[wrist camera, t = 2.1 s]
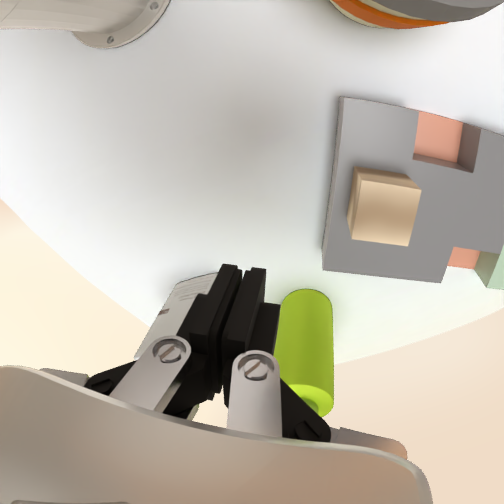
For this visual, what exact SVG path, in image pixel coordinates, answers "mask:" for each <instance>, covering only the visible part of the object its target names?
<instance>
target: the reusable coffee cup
mask: <svg viewBox="0 0 504 504" xmlns="http://www.w3.org/2000/svg"><path fill="white" fill-rule="evenodd" d="M329 1H330V2H331V3H332V4H333V5H334V6H335V8H336V9H338V10H339V11H340V12H341V13H342V14H343V15H345V16H347V17H348V18H350V19H351V20H353V21H356V22H358V23H360V24H363V25H366V26H370V27H377V28H394V29H412V28H419V27H427V26H434V25H440V24H446V23H449V22H457V21H464V20H470V19H473V18H475V17H478V16H480V15H483V14H485V13H486V12H488V11H490V10H491V9H493V8H495V7H496V6H498V5H500V4H501V3H503V2H504V0H329Z"/></svg>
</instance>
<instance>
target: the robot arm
mask: <svg viewBox="0 0 504 504" xmlns="http://www.w3.org/2000/svg"><path fill="white" fill-rule="evenodd" d="M169 1H170V0H0V29H51V30H67V31H72V33H73V34H74V35H75V37H76V38H77V39H78V40H79V41H80V42H82V43H83V44H85V45H87V46H90V47H95V48H114V47H119V46H122V45H125V44H128V43H129V42H131V41H133V40H135V39H137V38H138V37H140V36H141V35H142V34H144V33H145V32H146V31H148V30H149V29H150V28H151V27H152V26H153V25H154V24H155V23H156V21H157V20H158V19H159V18H160V16H161V15H162V14H163V12H164V11H165V9H166V7H167V5H168V4H169ZM157 6H158V8H157ZM156 8H157V9H156ZM265 281H266V269H262V268H254V267H252V268H251V271H248V270H246V271H245V274H244V277H243V279H242V270H240V269H238V267H237V265H230V264H222V266H221V268H220V270H219V272H218V274H217V276H216V278H215V280H214V282H213V284H212V286H211V288H210V290H209V292H208V294H202V293H199V294H197V296H196V298H195V299H194V301H193V303H192V305H191V307H190V309H189V311H188V313H187V315H186V316H185V318H184V320H183V322H182V324H181V326H180V328H179V330H178V332H177V334H176V336H174V335H170V336H163V337H160V338H158V339H156V340H154V341H153V342H152V343H151V344H150V345H149V347H148V348H147V349H146V350H145V352H144V353H143V354H142V355H141V356H140V358H139V359H138V360H136V361H133V362H130V363H127V364H125V365H121V366H119V367H116V368H113V369H110V370H107V371H104V372H101V373H98V374H96V375H94V376H92V377H91V378H90V377H88V375H87V374H81V373H74V372H67V371H61V370H55V369H48V368H43V369H40V370H37V369H33V368H29V367H23V366H12V365H7V366H0V504H433V501H432V495H431V491H430V487H429V484H428V481H427V478H426V477H425V475H424V473H423V472H422V470H421V469H419V467H418V466H416V465H415V464H413V463H412V462H410V461H408V460H407V451H406V449H405V447H404V446H403V445H402V444H401V443H400V442H398V441H396V440H393V439H389V438H384V437H379V436H375V435H371V434H366V433H362V432H358V431H354V430H350V429H346V428H342V427H340V429H339V430H338V429H335V428H331V427H329V425H328V424H327V423H326V422H325V421H324V420H323V419H322V418H321V417H320V416H319V415H318V414H317V413H316V412H315V411H314V410H313V409H312V408H311V407H310V406H309V405H308V404H307V403H306V402H304V401H303V400H302V399H301V398H300V397H299V396H298V395H297V394H296V393H295V392H294V391H293V390H292V389H291V388H290V387H289V386H288V385H287V384H286V383H285V382H284V381H283V380H282V379H281V378H280V367H279V363H278V361H277V360H276V358H275V357H273V355H274V350H275V344H276V338H277V332H278V325H279V317H280V308H281V305H280V304H272V303H264V295H265ZM222 385H223V391H224V404H225V405H226V407H227V408H228V419H227V429H226V428H221V427H216V426H212V425H207V424H203V423H198V422H194V421H192V420H193V418H194V416H195V414H196V413H197V411H198V408H199V404H200V403H202V402H204V401H206V400H213V397H214V395H215V393H220V392H221V389H222Z"/></svg>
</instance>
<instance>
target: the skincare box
mask: <svg viewBox="0 0 504 504" xmlns="http://www.w3.org/2000/svg"><path fill="white" fill-rule="evenodd" d="M217 274H218V273H214V274H209V275H205V276H201V277H197V278H193V279H190V280H187V281H183V282H181V283H178V284H177V285H176V286H175V288H174V289H173V291H172V293H171V294H170V296H169V298H168V299H167V301H166V303H165V304H164V306H163V308H162V309H161V311H160V313H159V314H158V316H157V318H156V319H155V321H154V323H153V324H152V326H151V328H150V330H149V332H148V333H147V335H146V337H145V338H144V340H143V342H142V344H141V345H140V347H139V349H138V351H137V353H136V354H135V356H134V359H135V360H138V359H139V358H140V356H141V355H142V354H143V353H144V352H145V350H146V349H147V348H148V347H149V345H150V344H151V343H152V342H153V341H154V340H156V339H158V338H160V337H163V336H170V335H174V336H176V334H177V332H178V330H179V328H180V326H181V324H182V322H183V320H184V318H185V316H186V315H187V313H188V311H189V309H190V307H191V305H192V303H193V301H194V299H195V298H196V296H197V294H199V293H202V294H208V292H209V290H210V288H211V286H212V284H213V282H214V280H215V278H216V276H217Z"/></svg>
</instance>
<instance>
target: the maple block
mask: <svg viewBox="0 0 504 504" xmlns="http://www.w3.org/2000/svg"><path fill="white" fill-rule="evenodd" d="M420 195H421V189H420V188H419V187H418V186H417V185H416V184H415V183H414V182H413V181H412V180H411V179H410V178H409V177H408V176H407V175H406V174H401V173H395V172H389V171H383V170H377V169H371V168H364V167H357V166H354V172H353V179H352V186H351V193H350V200H349V206H348V212H347V221H348V225H349V230H350V234H351V238H352V239H354V240H362V241H370V242H378V243H386V244H393V245H401V246H408V244H409V241H410V237H411V233H412V229H413V225H414V221H415V217H416V213H417V209H418V204H419V200H420Z"/></svg>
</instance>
